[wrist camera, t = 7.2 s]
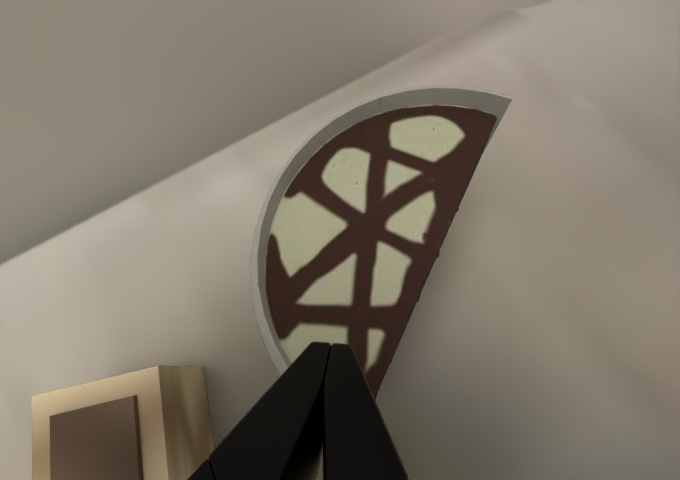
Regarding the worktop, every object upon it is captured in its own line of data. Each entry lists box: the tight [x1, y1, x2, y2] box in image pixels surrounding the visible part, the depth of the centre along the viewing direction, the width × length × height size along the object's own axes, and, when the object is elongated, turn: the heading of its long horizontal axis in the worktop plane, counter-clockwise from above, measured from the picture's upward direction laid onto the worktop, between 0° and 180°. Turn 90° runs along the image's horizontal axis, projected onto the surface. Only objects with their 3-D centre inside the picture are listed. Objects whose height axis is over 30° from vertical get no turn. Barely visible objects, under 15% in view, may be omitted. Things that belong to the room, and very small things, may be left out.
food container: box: [250, 86, 513, 400], centre depth 17 cm, size 12×6×10 cm, turn 154°
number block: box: [32, 366, 214, 480], centre depth 18 cm, size 5×5×5 cm
